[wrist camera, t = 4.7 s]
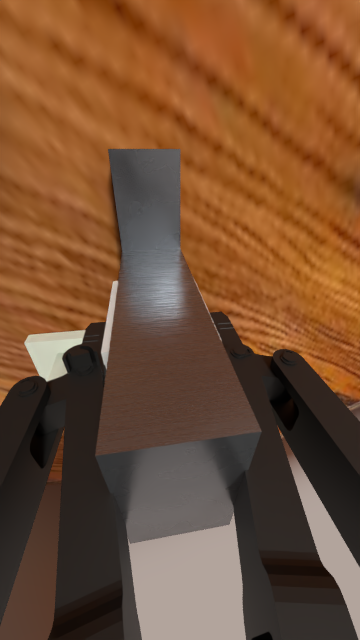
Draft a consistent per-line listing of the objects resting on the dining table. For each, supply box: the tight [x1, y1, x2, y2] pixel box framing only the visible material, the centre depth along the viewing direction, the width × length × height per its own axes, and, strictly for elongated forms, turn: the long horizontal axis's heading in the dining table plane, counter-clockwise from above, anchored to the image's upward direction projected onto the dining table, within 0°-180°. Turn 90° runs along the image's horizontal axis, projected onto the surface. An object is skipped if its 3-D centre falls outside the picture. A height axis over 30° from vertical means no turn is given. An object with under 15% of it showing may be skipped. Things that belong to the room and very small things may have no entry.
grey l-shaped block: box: [95, 149, 262, 543], centre depth 11 cm, size 4×11×14 cm, turn 0°
